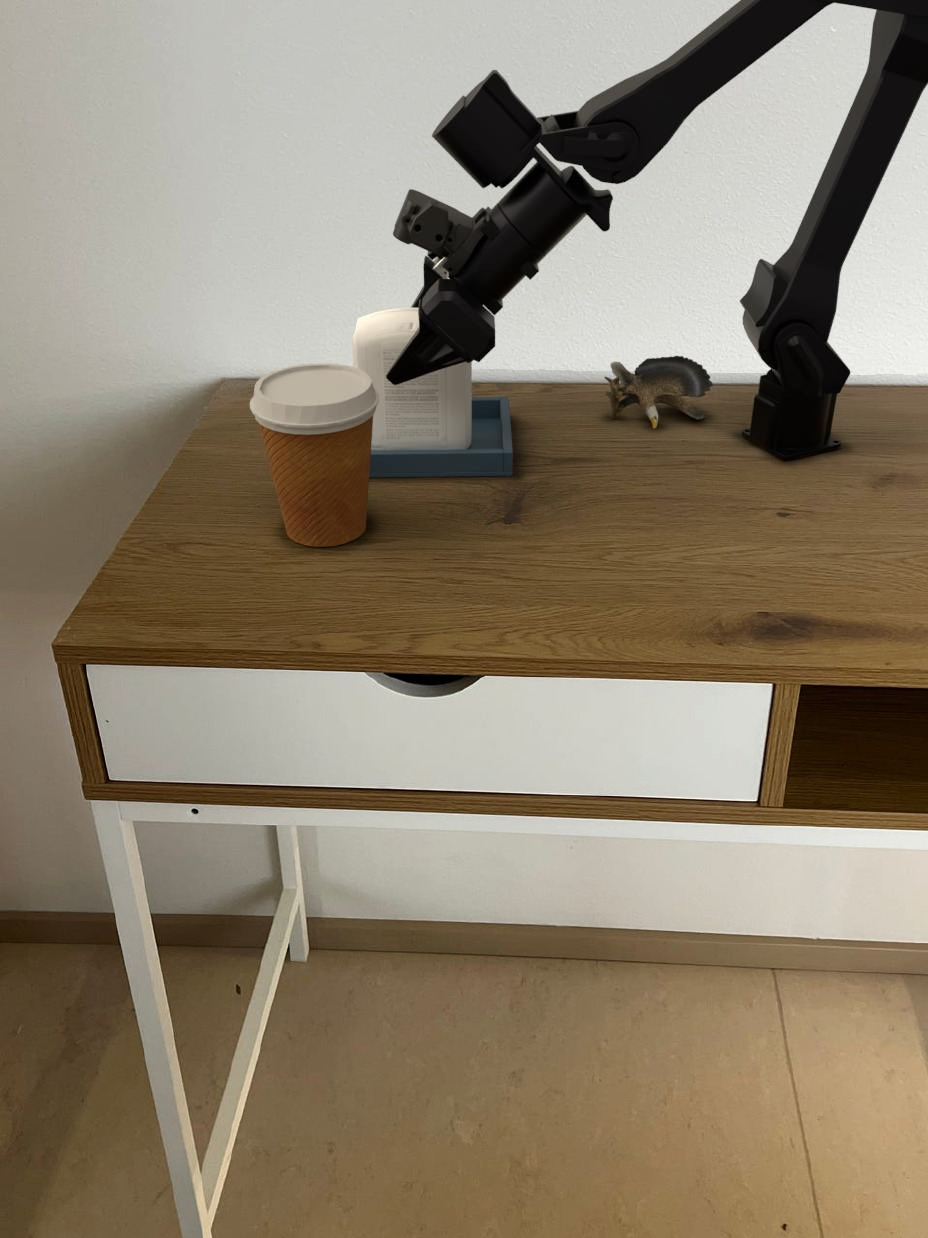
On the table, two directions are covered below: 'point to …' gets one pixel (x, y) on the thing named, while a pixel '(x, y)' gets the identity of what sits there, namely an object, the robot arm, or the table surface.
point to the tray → (480, 459)
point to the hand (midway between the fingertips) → (393, 361)
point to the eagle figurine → (659, 385)
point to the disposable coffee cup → (318, 448)
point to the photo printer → (411, 389)
